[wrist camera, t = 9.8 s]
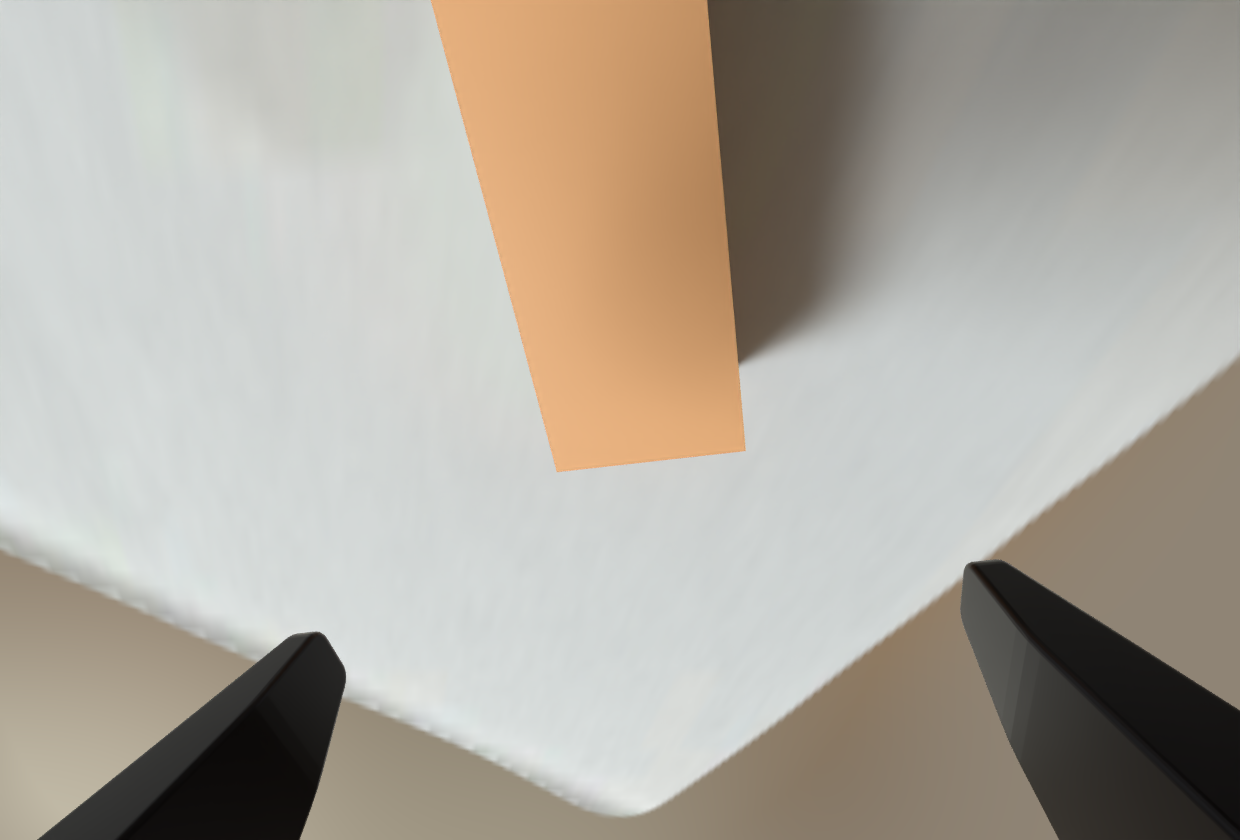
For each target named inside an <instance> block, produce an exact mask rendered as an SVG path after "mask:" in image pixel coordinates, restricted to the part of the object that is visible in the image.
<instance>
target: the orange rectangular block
mask: <svg viewBox="0 0 1240 840" xmlns="http://www.w3.org/2000/svg"><path fill="white" fill-rule="evenodd" d="M431 3H432V6H433V10H434V14H435V17H436V21H437V25H438V29H439V32H440V36H441V40H442V44H443V47H444V51H445V55H446V59H447V62H448V66H449V70H450V74H451V77H452V81H453V85H454V89H455V92H456V96H457V100H458V104H459V107H460V111H461V115H462V118H463V122H464V126H465V130H466V133H467V137H468V141H469V145H470V148H471V152H472V156H473V160H474V163H475V167H476V171H477V175H478V178H479V182H480V186H481V190H482V193H483V197H484V201H485V205H486V208H487V212H488V216H489V220H490V223H491V227H492V231H493V234H494V238H495V242H496V246H497V249H498V253H499V257H500V261H501V264H502V268H503V272H504V276H505V279H506V283H507V287H508V291H509V294H510V298H511V302H512V306H513V309H514V313H515V317H516V321H517V324H518V328H519V332H520V335H521V339H522V343H523V347H524V350H525V354H526V358H527V362H528V365H529V369H530V373H531V377H532V380H533V384H534V388H535V392H536V395H537V399H538V403H539V407H540V410H541V414H542V418H543V422H544V425H545V429H546V433H547V436H548V440H549V444H550V448H551V451H552V455H553V459H554V463H555V466H556V470H557V472H562V471H571V470H580V469H588V468H597V467H606V466H615V465H624V464H633V463H642V462H651V461H660V460H669V459H678V458H687V457H696V456H705V455H713V454H722V453H731V452H740V451H746V449H745V438H744V426H743V414H742V403H741V391H740V379H739V367H738V356H737V344H736V332H735V321H734V309H733V297H732V286H731V274H730V262H729V251H728V239H727V227H726V216H725V204H724V192H723V181H722V169H721V157H720V146H719V134H718V122H717V111H716V99H715V87H714V76H713V64H712V52H711V41H710V29H709V17H708V5H707V0H431Z"/></svg>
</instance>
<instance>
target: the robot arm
mask: <svg viewBox="0 0 1240 840" xmlns="http://www.w3.org/2000/svg"><path fill="white" fill-rule="evenodd" d="M960 610H961V618H962V622H963V625H964V628H965V631H966V633H967V636H968V639H969V641H970V644H971V646H972V648H973V651H974V653H975V656H976V659H977V662H978V664H979V667H980V669H981V672H982V674H983V677H984V679H985V682H986V685H987V687H988V690H989V692H990V695H991V697H992V700H993V703H994V705H995V708H996V710H997V713H998V715H999V718H1000V721H1001V723H1002V725H1003V728H1004V730H1005V733H1006V735H1007V738H1008V740H1009V742H1010V745H1011V747H1012V748H1013V751H1014V753H1015V755H1016V757H1017V759H1018V761H1019V763H1020V765H1021V767H1022V769H1023V771H1024V773H1025V774H1026V777H1027V779H1028V781H1029V782H1030V784H1031V786H1032V788H1033V790H1034V792H1035V794H1036V796H1037V798H1038V800H1039V802H1040V804H1041V805H1042V807H1043V809H1044V811H1045V813H1046V815H1047V817H1048V819H1049V821H1050V823H1051V825H1052V827H1053V829H1054V831H1055V833H1056V834H1057V836H1058V838H1059V840H1240V710H1238V709H1237V708H1235V707H1234V706H1232V705H1231V704H1229V703H1227V702H1226V701H1224V700H1223V699H1221V698H1219V697H1218V696H1216V695H1215V694H1213V693H1212V692H1210V691H1208V690H1207V689H1205V688H1204V687H1202V686H1201V685H1199V684H1197V683H1196V682H1194V681H1193V680H1191V679H1190V678H1188V677H1186V676H1185V675H1183V674H1182V673H1180V672H1179V671H1177V670H1175V669H1174V668H1172V667H1171V666H1169V665H1167V664H1166V663H1164V662H1162V661H1161V660H1160V659H1158V658H1157V657H1155V656H1153V655H1152V654H1150V653H1149V652H1147V651H1145V650H1144V649H1142V648H1141V647H1139V646H1138V645H1136V644H1134V643H1133V642H1131V641H1130V640H1128V639H1126V638H1125V637H1123V636H1122V635H1120V634H1119V633H1117V632H1116V631H1114V630H1112V629H1111V628H1109V627H1108V626H1106V625H1105V624H1103V623H1101V622H1100V621H1098V620H1097V619H1095V618H1094V617H1092V616H1090V615H1089V614H1087V613H1086V612H1084V611H1082V610H1081V609H1079V608H1078V607H1076V606H1075V605H1073V604H1072V603H1070V602H1068V601H1067V600H1065V599H1064V598H1062V597H1060V596H1059V595H1057V594H1056V593H1054V592H1053V591H1051V590H1049V589H1048V588H1046V587H1045V586H1043V585H1042V584H1040V583H1039V582H1037V581H1035V580H1034V579H1032V578H1030V577H1029V576H1027V575H1026V574H1024V573H1023V572H1021V571H1020V570H1018V569H1016V568H1015V567H1013V566H1012V565H1010V564H1008V563H1007V562H1005V561H1002V560H986V561H977V562H970V563H968V564H967V565H966V567H965V569H964V574H963V585H962V596H961V608H960ZM345 683H346V671H345V668H344V665H343V664H342V662H341V660H340V659H339V657H338V656H337V654H336V652H335V651H334V649H333V647H332V646H331V644H330V642H329V641H328V639H327V638H326V636H325V635H324V634H322V633H320V632H307V633H298V634H294V635H292V636H290V637H288V638H287V639H286V640H284V641H283V642H282V643H281V644H279V645H278V646H277V647H276V648H274V649H273V650H272V651H271V652H270V653H268V654H267V655H266V656H265V657H263V658H262V659H261V660H260V661H258V662H257V663H256V664H255V665H253V666H252V667H251V668H250V669H248V670H247V671H246V672H245V673H243V674H242V675H241V676H240V677H238V678H237V679H236V680H235V681H234V682H232V683H231V684H230V685H229V686H227V687H226V688H225V689H224V690H222V691H221V692H220V693H219V694H217V695H216V696H215V697H214V698H212V699H211V700H210V701H209V702H207V703H206V704H205V705H204V706H203V707H201V708H200V709H199V710H198V711H196V712H195V713H194V714H193V715H191V716H190V717H189V718H188V719H186V720H185V721H184V722H183V723H181V724H180V725H179V726H178V727H176V728H175V729H174V730H173V731H171V732H170V733H169V734H168V735H167V736H165V737H164V738H163V739H162V740H160V741H159V742H158V743H157V744H156V745H154V746H153V747H152V748H150V749H149V750H148V751H147V752H145V753H144V754H143V755H142V756H140V757H139V758H138V759H137V760H136V761H134V762H133V763H132V764H131V765H129V766H128V767H127V768H126V769H124V770H123V771H122V772H121V773H119V774H118V775H117V776H116V777H115V778H113V779H112V780H111V781H109V782H108V783H107V784H106V785H104V786H103V787H102V788H101V789H100V790H98V791H97V792H96V793H95V794H93V795H92V796H91V797H90V798H89V799H87V800H86V801H85V802H83V803H82V804H81V805H80V806H78V807H77V808H76V809H75V810H73V811H72V812H71V813H70V814H69V815H67V816H66V817H65V818H64V819H62V820H61V821H60V822H59V823H57V824H56V825H55V826H54V827H52V828H51V829H50V830H49V831H47V832H46V833H45V834H44V835H43V836H42V837H40V838H39V839H37V840H300V837H301V834H302V832H303V829H304V826H305V823H306V821H307V818H308V815H309V812H310V809H311V807H312V804H313V801H314V798H315V794H316V792H317V789H318V785H319V782H320V778H321V775H322V772H323V768H324V764H325V760H326V756H327V752H328V748H329V745H330V741H331V737H332V733H333V730H334V726H335V722H336V718H337V715H338V711H339V707H340V703H341V699H342V695H343V692H344V688H345Z"/></svg>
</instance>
